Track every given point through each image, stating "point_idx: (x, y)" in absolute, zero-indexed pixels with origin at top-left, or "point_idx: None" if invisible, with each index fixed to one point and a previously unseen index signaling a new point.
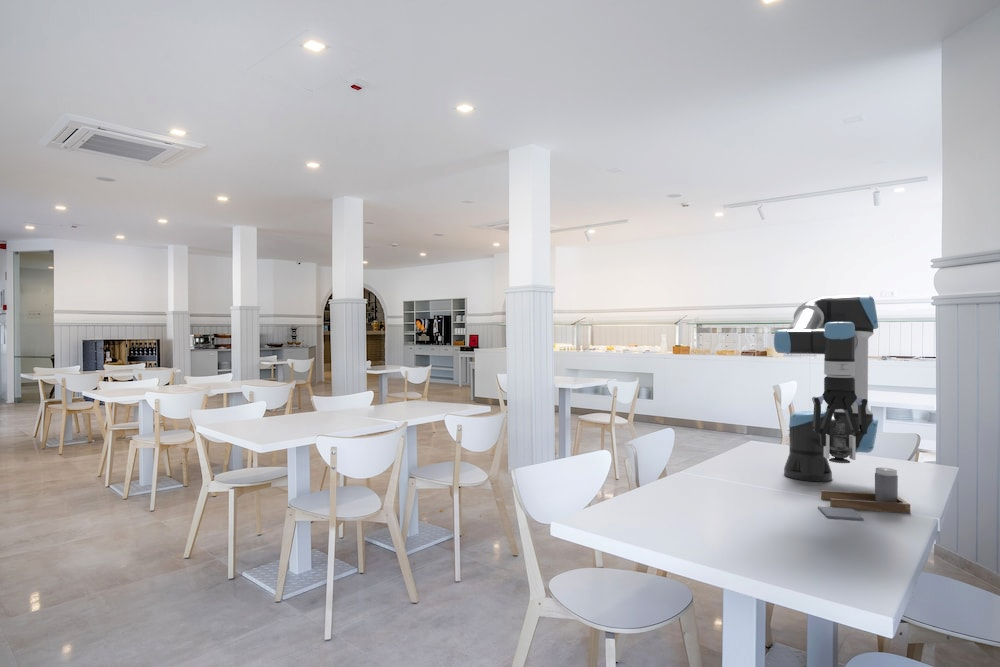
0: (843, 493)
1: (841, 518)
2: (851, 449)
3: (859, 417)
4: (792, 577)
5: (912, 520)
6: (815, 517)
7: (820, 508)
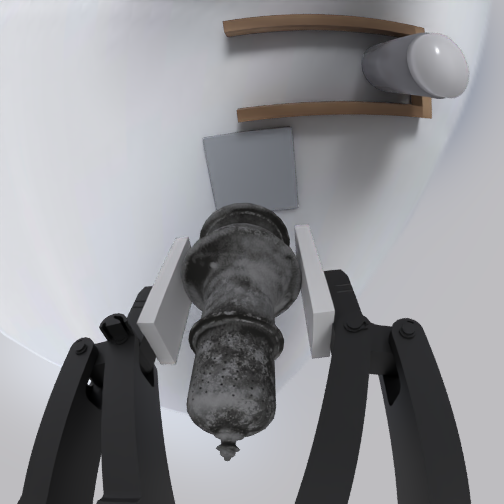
0: (289, 25)
1: None
2: (301, 285)
3: (409, 450)
4: (180, 401)
5: (403, 172)
6: (193, 219)
7: (207, 157)
